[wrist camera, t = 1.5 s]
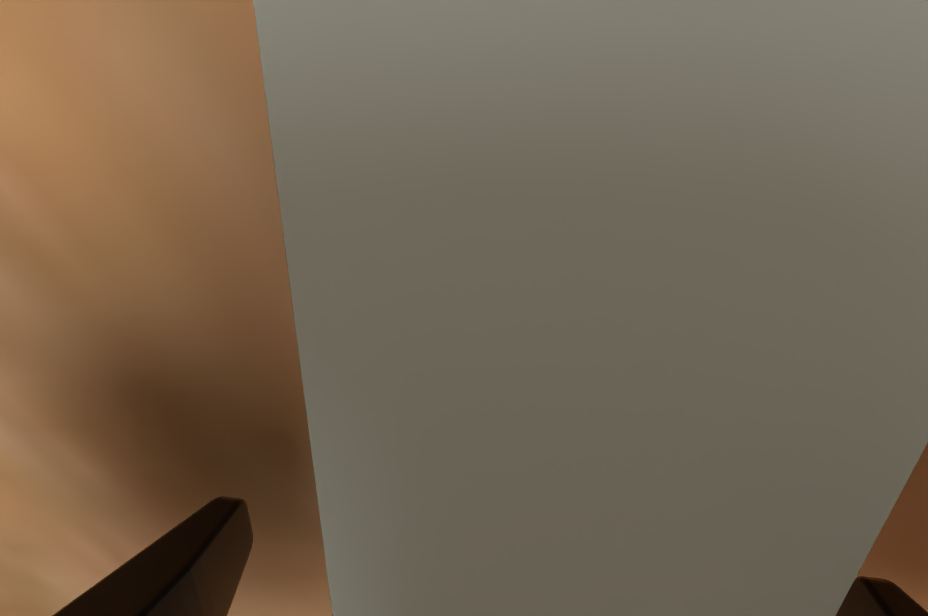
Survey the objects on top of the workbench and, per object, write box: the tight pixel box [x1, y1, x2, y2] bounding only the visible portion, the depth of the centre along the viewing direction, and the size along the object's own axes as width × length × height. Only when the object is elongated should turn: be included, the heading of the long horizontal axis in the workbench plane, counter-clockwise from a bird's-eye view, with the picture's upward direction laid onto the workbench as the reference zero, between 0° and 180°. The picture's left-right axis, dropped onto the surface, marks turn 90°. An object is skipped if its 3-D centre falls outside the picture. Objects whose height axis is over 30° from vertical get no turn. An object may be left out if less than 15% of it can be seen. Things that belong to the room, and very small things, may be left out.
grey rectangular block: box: [253, 0, 928, 616], centre depth 7 cm, size 12×4×5 cm, turn 178°
